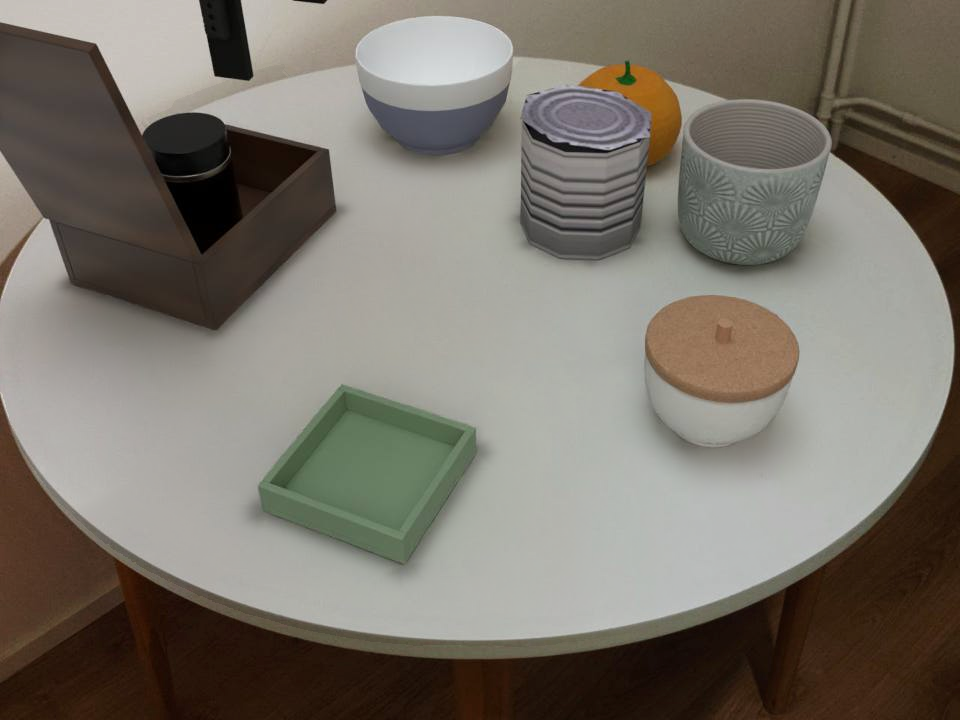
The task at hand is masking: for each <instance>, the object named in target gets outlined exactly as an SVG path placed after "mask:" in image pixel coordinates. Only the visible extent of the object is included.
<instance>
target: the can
mask: <svg viewBox="0 0 960 720" xmlns="http://www.w3.org/2000/svg"><path fill="white" fill-rule="evenodd" d="M519 119H520V120H521V144H520V145H521V150H520V151H521V154H520V155H521V156H520V164H521V165H520V210H519V211H520V216H519V217H520V218H519V221H520V222H519V224H520V226H521V228H522V230H523V233H524V235H525V237H526V239H527V241H528V244H529V245H530V246H532V247H534V248H537V249H538V250H540V251H543V252H545V253H547V254H549V255H551V256H554V257H555V258H558V259H559V260H581V261H583V260H585V261H600V260H603V259H606V258H608V257H610V256H611V257H612V256H613V255H616V254H619V253H621V252H624V251H626V250H629V249H630V248H631V247H632V245H633V243H634V241H635V239H636V237H637V235H638V234H639V232H640V230H641V225H642V217H643V207H644V198H645V188H646V179H647V171H648V166H647V161H648V151H649V142H650V132H651V112H649V111H648V110H646V109H644V108H643V107H641V106H639V105H638V104H636V103H635V102H633V101H631V100H630V99H628V98H627V97H625V96H623V95H622V94H620V93H618V92H616V91H609V90H602V89H595V88H588V87H581V86H578V85H573V84H563V85H560V86H555V87H552V88H548V89H544V90H541V91H537V92H533V93H530V94H526V97H525V100H524V104H523V107H522V111H521V115H520V118H519Z"/></svg>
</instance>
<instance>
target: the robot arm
mask: <svg viewBox="0 0 960 720" xmlns="http://www.w3.org/2000/svg"><path fill="white" fill-rule="evenodd" d="M327 1H328V0H292V2H299V3H300V2H301V3H308V4H309V3H310V4H319V5H325V4H326V3H327ZM198 3H199V7H200V12H201V18H202V23H203V28H204V33H205V36H206V40H207V45H208V50H209V55H210V60H211V67H212V70H213V71H212V72H213V76H214V77H216V78H223V79H230V80H231V79H232V80H239V81H245V82H246V81H247V82H250V81H251V80H252V79H253V78H254V77H255V76H254V70H253V64H252V63H253V62H252V58H251V53H250V52H251V51H250V47H249V46H250V45H249V41H248V34H247V28H246V23H245V17H244V10H243V4H242V0H198Z"/></svg>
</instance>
